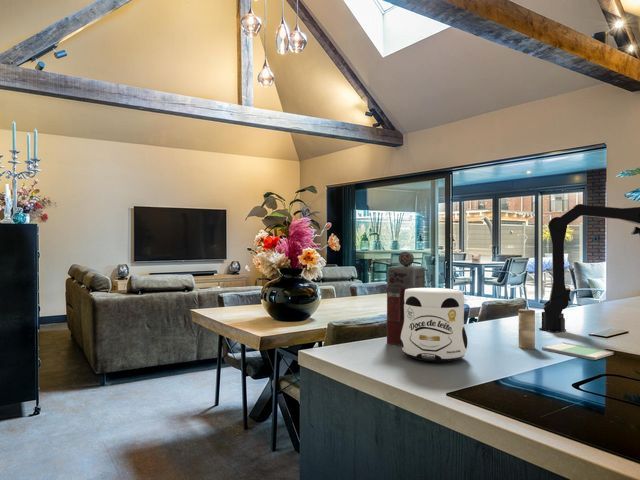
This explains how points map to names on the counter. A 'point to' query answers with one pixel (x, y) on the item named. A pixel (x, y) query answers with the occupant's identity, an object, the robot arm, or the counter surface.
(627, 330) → the counter surface
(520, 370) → the counter surface
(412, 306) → the white black rounded container
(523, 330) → the peg
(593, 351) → the board
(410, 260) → the dark red bottle
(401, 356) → the counter surface
